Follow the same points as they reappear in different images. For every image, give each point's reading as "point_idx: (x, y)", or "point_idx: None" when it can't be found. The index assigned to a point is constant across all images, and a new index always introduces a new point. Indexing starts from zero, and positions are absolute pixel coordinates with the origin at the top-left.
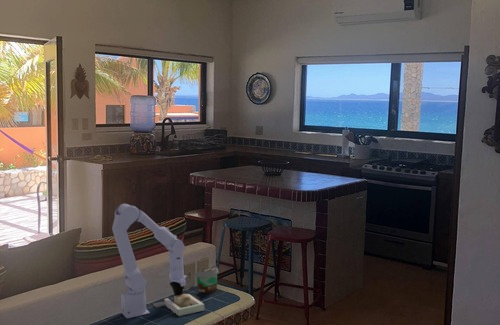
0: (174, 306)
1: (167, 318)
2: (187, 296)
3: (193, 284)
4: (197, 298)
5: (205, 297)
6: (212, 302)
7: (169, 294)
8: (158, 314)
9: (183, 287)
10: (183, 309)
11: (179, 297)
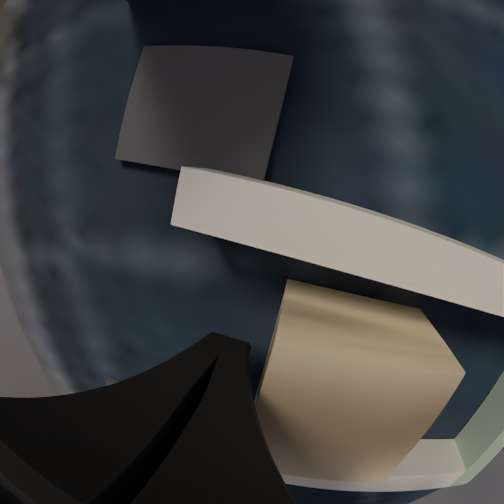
0: (401, 489)
1: (411, 491)
2: (429, 393)
3: (6, 14)
4: (285, 86)
5: (305, 4)
6: (498, 85)
7: (5, 221)
8: (316, 499)
9: (282, 488)
10: (489, 457)
11: (349, 464)
